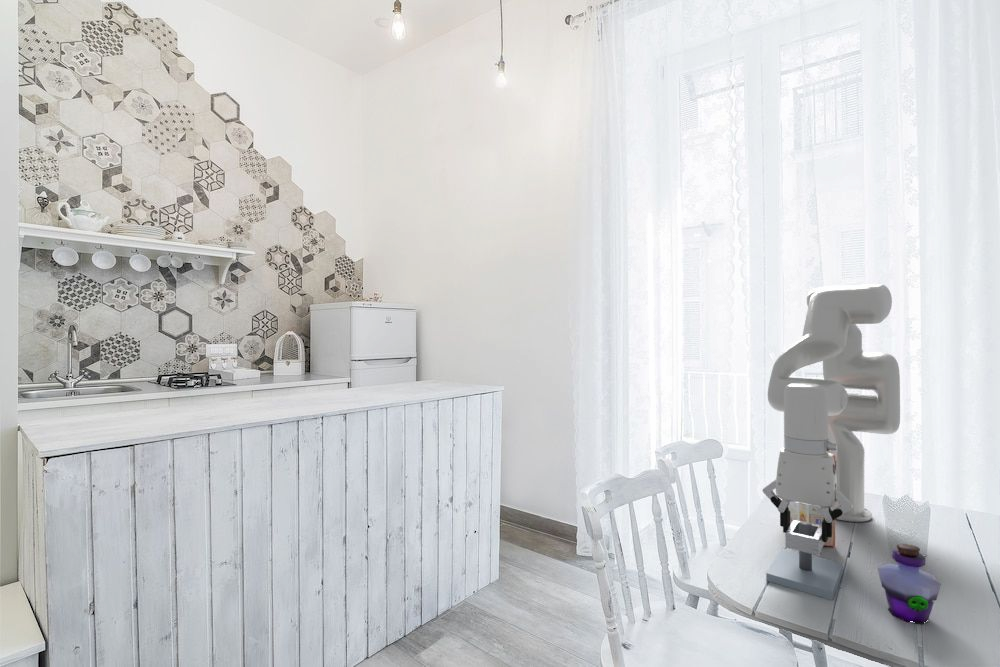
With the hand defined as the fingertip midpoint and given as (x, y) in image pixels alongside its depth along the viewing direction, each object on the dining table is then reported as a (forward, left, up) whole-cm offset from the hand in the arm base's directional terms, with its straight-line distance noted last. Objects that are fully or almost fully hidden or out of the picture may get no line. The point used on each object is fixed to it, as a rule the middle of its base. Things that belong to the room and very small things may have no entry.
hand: (805, 534), depth 101 cm
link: (0, 0, -2) cm, 2 cm away
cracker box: (-23, -3, -9) cm, 25 cm away
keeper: (0, 0, -8) cm, 8 cm away
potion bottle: (+4, +16, -9) cm, 19 cm away
